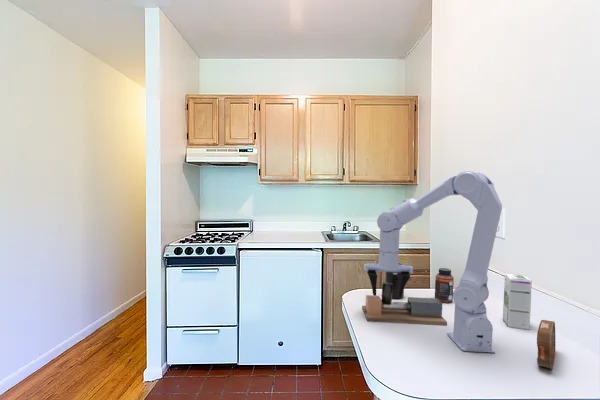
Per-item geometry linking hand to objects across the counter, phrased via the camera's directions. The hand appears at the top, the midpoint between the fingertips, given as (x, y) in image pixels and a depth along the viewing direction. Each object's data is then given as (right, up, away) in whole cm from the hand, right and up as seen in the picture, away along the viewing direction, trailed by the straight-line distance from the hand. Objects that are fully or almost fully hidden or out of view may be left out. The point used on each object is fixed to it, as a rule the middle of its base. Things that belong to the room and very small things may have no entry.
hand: (386, 295), depth 100 cm
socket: (-4, -6, 0) cm, 8 cm away
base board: (+5, -7, 0) cm, 8 cm away
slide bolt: (+2, -5, 0) cm, 5 cm away
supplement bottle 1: (+8, -6, +19) cm, 21 cm away
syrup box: (+37, -8, -3) cm, 38 cm away
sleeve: (+11, -7, 0) cm, 13 cm away
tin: (+31, -9, -23) cm, 40 cm away
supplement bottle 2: (+25, -7, +16) cm, 30 cm away
